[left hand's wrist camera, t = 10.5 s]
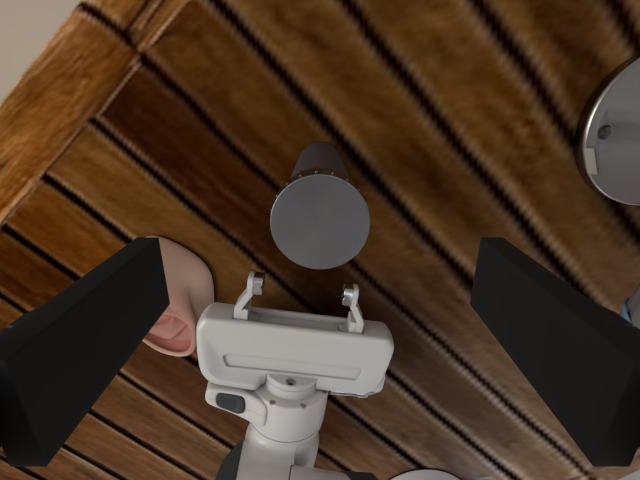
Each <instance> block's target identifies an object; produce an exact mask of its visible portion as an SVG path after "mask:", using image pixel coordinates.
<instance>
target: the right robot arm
mask: <svg viewBox="0 0 640 480" xmlns="http://www.w3.org/2000/svg"><path fill="white" fill-rule="evenodd" d="M264 278H265V273H261V272H255V271H250V274H249V276H248V282H247V288H246V289H245V290H244V292H243V293H242V294H241V295H240V296H239V298H238V300H237V303H236V305H235V304H226V303H219V302H213V303H211V304H210V305H209V306H208V307H207V308H206V309H205V310H204V311H203V313H202V314H201V316H200V318H199V321H198V323H197V329H196V341H197V353H198V360H199V366H200V369H201V372H202V374H203V375H204V377H205V378H206V379H207V380H208V385H207V390H206V396H205V398H206V401H207V403H209V404H210V405H212V406H215V407H217V408H220V409H223V410H226V411H228V412H231V413H233V414H236V415H238V416H240V417H242V418H244V419H246V420H248V421H249V422H250V424H249V426H248V428H247V432H246V437H245V440H244V439H243V440H242V441H240V442H239V443H238V444H237V445H236V446H235V447H234V448H233V449H232V450H231V451H230V453H229V454H228V455H227V456H226V457H225V459H224V460H223V462H222V464H221V466H220V469H219V471H218V473H217V476H216V479H215V480H378V479H377V478H376V477H375V476H374V475H373V474H372V473H367V472H350V471H340V472H336V471H330V470H324V469H318V468H313V467H314V463H315V460H316V455H317V451H318V445H319V433H318V431H319V430H320V428H321V425H322V423H323V419H324V414H325V409H326V403H327V398H328V395H329V394H330V395H338V396H356V397H358V398H367V397H368V395H372V394H375V393H377V392H380V391H381V390H382V388H383V385H384V381H385V377H386V373H385V372H386V370H387V368H388V365H389V363H390V360H391V357H392V354H393V351H394V343H393V338H392V335H391V333H390V331H389V329H388V327H387V326H386V325H385V323H383V322H378V321H369V320H363V316H362V312H361V309H360V307H359V305H358V302H357V300H358V295H359V288H358V284H351V283H343V290H342V293H341V299H342V305H346V306H350V308H351V311H349V313H348V318H344V317H336V316H327V315H319V314H310V313H302V312H294V311H285V310H277V309H269V308H260V307H252V306H251V303H252V300H251V299H250V298H251V297H252V296H253V294H254V295H262V291H263V288H264ZM391 480H460V479H458V478H456V477H455V476H453V475H451V474H449V473H446V472H443V471H438V470H415V471H410V472H407V473H404V474H401V475H399V476H396V477H395V478H393V479H391Z"/></svg>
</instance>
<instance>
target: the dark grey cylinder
mask: <svg viewBox="0 0 640 480" xmlns="http://www.w3.org/2000/svg"><path fill="white" fill-rule="evenodd" d="M315 167H317V168H328V169H331V168H333V170H336V171H338V172H341V173H342V174H347V177H349V175H348V173H347V170H346V168H345V166H344V163H343V161H342V159H341V156H340V154H339V152H338V151H337V150H336V149H335V148H334V147H333V146H332V145H330V144H327V143H323V142H317V143H313V144H310V145H309V146H307V147H306V148H305V149H304V150H303V151H302V152H301V154H300V156H299V159H298V161H297V163H296V166H295V168H294V171H293V173H292V176H291V178H292V177H293V176H295V175H296V174H298V173H300V171H301V170H303V171H304V170H308V169H313V168H315ZM291 178H290V179H291Z"/></svg>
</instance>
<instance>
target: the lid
mask: <svg viewBox="0 0 640 480" xmlns="http://www.w3.org/2000/svg"><path fill="white" fill-rule="evenodd" d="M276 197H277V198H276V200H275V202H274V204H273V206H272V208H271V211H272V212H271V218H270V226H271V232H272V236H273V238H274V241H275V243H276V245H277V246H278V248H279V249H280V250H281V252H282V253H283V254H284V255H285V256H286V257H287V258H289V259H290V260H292V261H293V262H295V263H297V264H299V265H301V266H304V267H307V268H311V269H329V268H333V267H337V266H339V265H342V264H344V263H346V262H347V261H349V260H350V259H352V258H353V257H354V256H355V255H356V254H357V253H358V252H359V251H360V250H361V248H362V247H363V245H364V244H365V241H366V239H367V237H368V234H369V229H370V219H371V217H370V214H369V210H368V207H367V204H368V203H367V200H366V198H365V196H363V195H362V193H361V192H360V188H359V186H358V184H357V183H356V184H355V183H354V182H353V181H352V180H351V179H350V178H349V177H347V174H342V173H341V172H338V171H336V170H333V168H331V169H328V168H317V167H315V168H313V169H308V170H304V171H303V170H301V171H300V173H298V174H296V175H295V176H293V177H292V178H291V179H290V178H288V180H287V182H286V183H285V184H284V186H283V187H282V189H279V191H278V193H277V195H276Z"/></svg>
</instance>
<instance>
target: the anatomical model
mask: <svg viewBox="0 0 640 480" xmlns="http://www.w3.org/2000/svg"><path fill="white" fill-rule="evenodd" d="M145 238H159V243H160V248H161V254H162V260H163V266H164V272H165V277H166V283H167V289H168V295H169V301H170V305H169V306H168V307H167V309H166V310H165V311H164V313H163V314H162V315H161V316H160V318H159V319H158V320H157V322H156V323H155V324H154V326H153V327H152V328H151V330H150V331H149V332H148V334H147V335H146V336H145V337H144V339H143V340H142V341H143V342H145V343H146V344H147V345H149V346H150V347H152V348H154V349H155V350H157V351H159V352H162V353H164V354H168V355H172V356H187V355H190V354H191V353H192V352H193V351H194V350H195V348H196V345H197V341H196V329H197V323H198V321H199V318H200V316H201V314H202V313H203V311H204V310H205V309H206V308H207V307H208V306H209V305H210V304H211V303H213V302H214V286H213V280H212V276H211V273H210V271H209V269H208V267H207V266H206V265H205V263H204V262H203V261H202V260H201V259H200V258H199V257H197V256H196V255H195V254H194V253H192V252H191V251H189V250H188V249H186V248H184V247H182V246H181V245H179V244H177V243H175V242H173V241H171V240H168V239H166V238H163V237H160V236H155V235H150V236H147V237H145Z"/></svg>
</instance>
